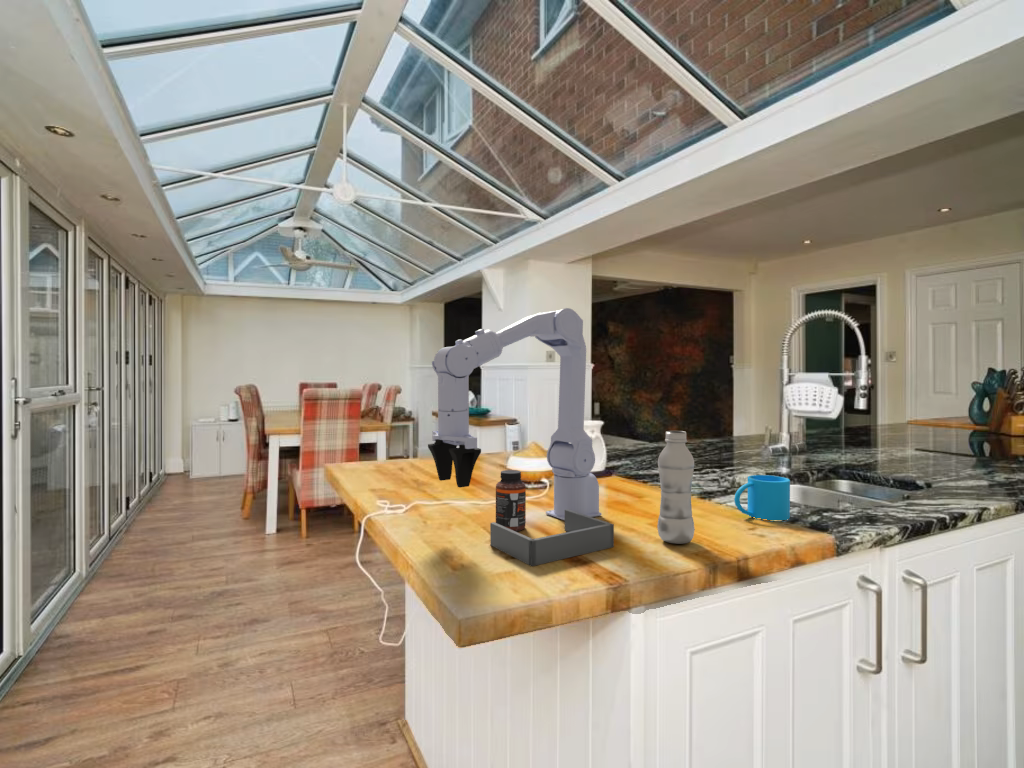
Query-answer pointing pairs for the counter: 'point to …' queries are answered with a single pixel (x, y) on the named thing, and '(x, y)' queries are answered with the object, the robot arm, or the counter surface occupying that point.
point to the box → (555, 540)
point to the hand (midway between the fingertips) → (453, 483)
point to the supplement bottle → (511, 501)
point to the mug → (766, 497)
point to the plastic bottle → (676, 490)
